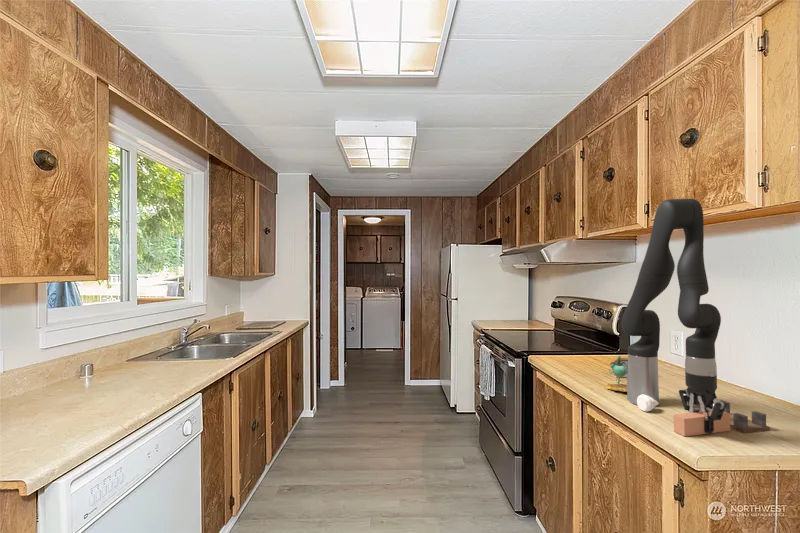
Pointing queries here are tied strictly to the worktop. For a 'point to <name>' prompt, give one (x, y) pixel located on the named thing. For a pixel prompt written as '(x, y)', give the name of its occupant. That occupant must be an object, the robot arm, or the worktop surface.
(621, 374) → the frog figurine
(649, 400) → the garlic bulb
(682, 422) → the terracotta clay brick
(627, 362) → the tin
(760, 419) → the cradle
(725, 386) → the worktop surface
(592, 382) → the worktop surface
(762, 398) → the worktop surface
